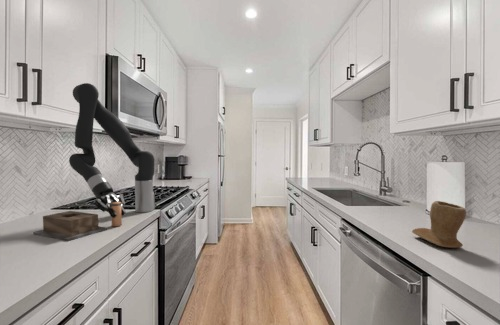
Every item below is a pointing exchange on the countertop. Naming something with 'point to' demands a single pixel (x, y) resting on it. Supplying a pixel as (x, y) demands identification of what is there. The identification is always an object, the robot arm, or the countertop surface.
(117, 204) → the dowel pin
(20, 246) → the countertop surface
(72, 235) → the hitch block
